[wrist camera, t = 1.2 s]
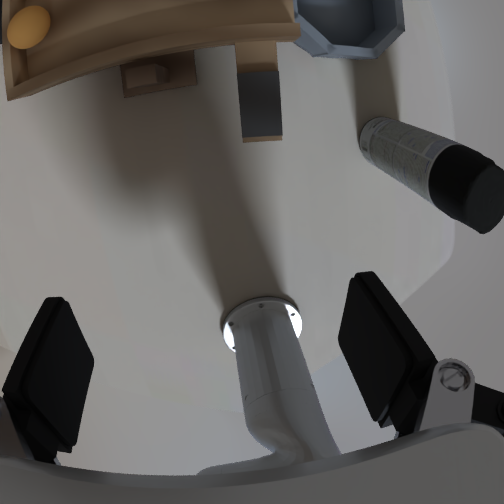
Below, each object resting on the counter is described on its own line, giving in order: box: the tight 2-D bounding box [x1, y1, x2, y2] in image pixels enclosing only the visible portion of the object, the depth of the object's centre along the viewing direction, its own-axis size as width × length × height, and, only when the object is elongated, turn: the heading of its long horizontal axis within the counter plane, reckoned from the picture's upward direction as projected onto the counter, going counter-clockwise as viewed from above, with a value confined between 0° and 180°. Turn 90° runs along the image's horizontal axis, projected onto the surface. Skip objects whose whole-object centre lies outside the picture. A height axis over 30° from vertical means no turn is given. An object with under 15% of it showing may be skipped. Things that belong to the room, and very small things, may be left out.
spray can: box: [359, 117, 504, 234], centre depth 28 cm, size 7×7×20 cm
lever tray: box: [2, 0, 301, 143], centre depth 19 cm, size 20×24×7 cm
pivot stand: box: [120, 50, 197, 98], centre depth 21 cm, size 18×8×10 cm, turn 4°
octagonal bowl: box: [293, 0, 405, 60], centre depth 24 cm, size 13×13×6 cm
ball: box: [7, 6, 51, 49], centre depth 15 cm, size 4×4×4 cm
